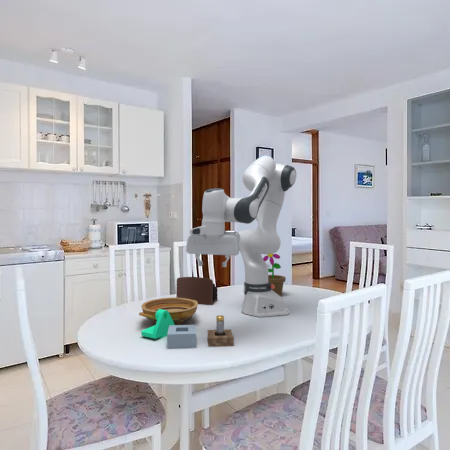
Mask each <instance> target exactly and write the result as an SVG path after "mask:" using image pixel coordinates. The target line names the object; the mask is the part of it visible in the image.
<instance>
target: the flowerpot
mask: <svg viewBox="0 0 450 450" xmlns="http://www.w3.org/2000/svg"><path fill="white" fill-rule="evenodd" d="M262 258H263V260H264V262H265V263H266V262H267V261H268V260H269V264H270V265H271V268H268V273H271V274H268V282H270V283H271V284H274V286H275V288H274V289H272V290H273V291H274V292H275V293H277V294H278V295H279V296H280V297H282V295H283V288H284V283H285V282H286V276H284V275H279V274H275V270H274V269H276V270H277V269H281V268H282V267H281V265H280V264H279V263H277V262H275V259H277V260H278V259H281V255H279V254H277V253H273V254H266V255H264V257H262Z"/></svg>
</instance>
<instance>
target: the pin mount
mask: <svg viewBox="0 0 450 450" xmlns="http://www.w3.org/2000/svg"><path fill="white" fill-rule="evenodd" d="M234 340H235V338H234V334H233V331H232V328H231V329H230V328H229V329H228V328H227V329H224V335H222V336H216V329H207V344H208V347H234V345H235V344H234V343H235V341H234Z"/></svg>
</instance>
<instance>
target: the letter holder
mask: <svg viewBox="0 0 450 450" xmlns="http://www.w3.org/2000/svg"><path fill="white" fill-rule="evenodd" d="M175 298H186V299H191V300H196V301H197V302H198V305H205V306H213V305H214V304H215V303H216V302H218V287H217V286H216V284H215V283H214V281H213V279H211V278H207V277H200V276H199V277H198V276H180V277H177V279H176V297H175Z"/></svg>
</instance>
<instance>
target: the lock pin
mask: <svg viewBox="0 0 450 450" xmlns="http://www.w3.org/2000/svg"><path fill="white" fill-rule="evenodd" d="M215 326H216V328H215V330H216V336H222V335H224V330H225V315H221V314H219V315H216V325H215Z"/></svg>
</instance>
